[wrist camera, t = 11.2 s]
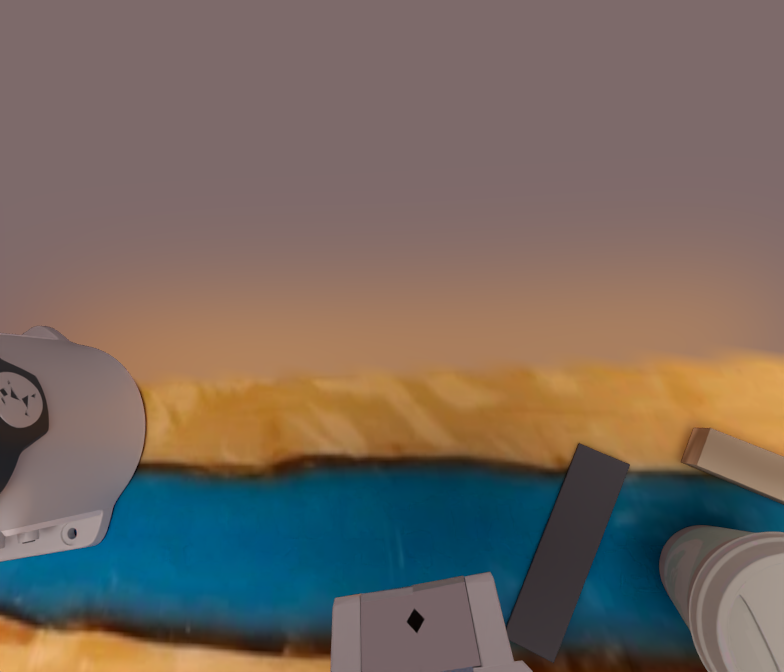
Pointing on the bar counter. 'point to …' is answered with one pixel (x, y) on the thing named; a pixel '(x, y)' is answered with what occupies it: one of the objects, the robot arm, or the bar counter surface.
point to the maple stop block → (736, 462)
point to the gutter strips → (566, 552)
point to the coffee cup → (729, 595)
